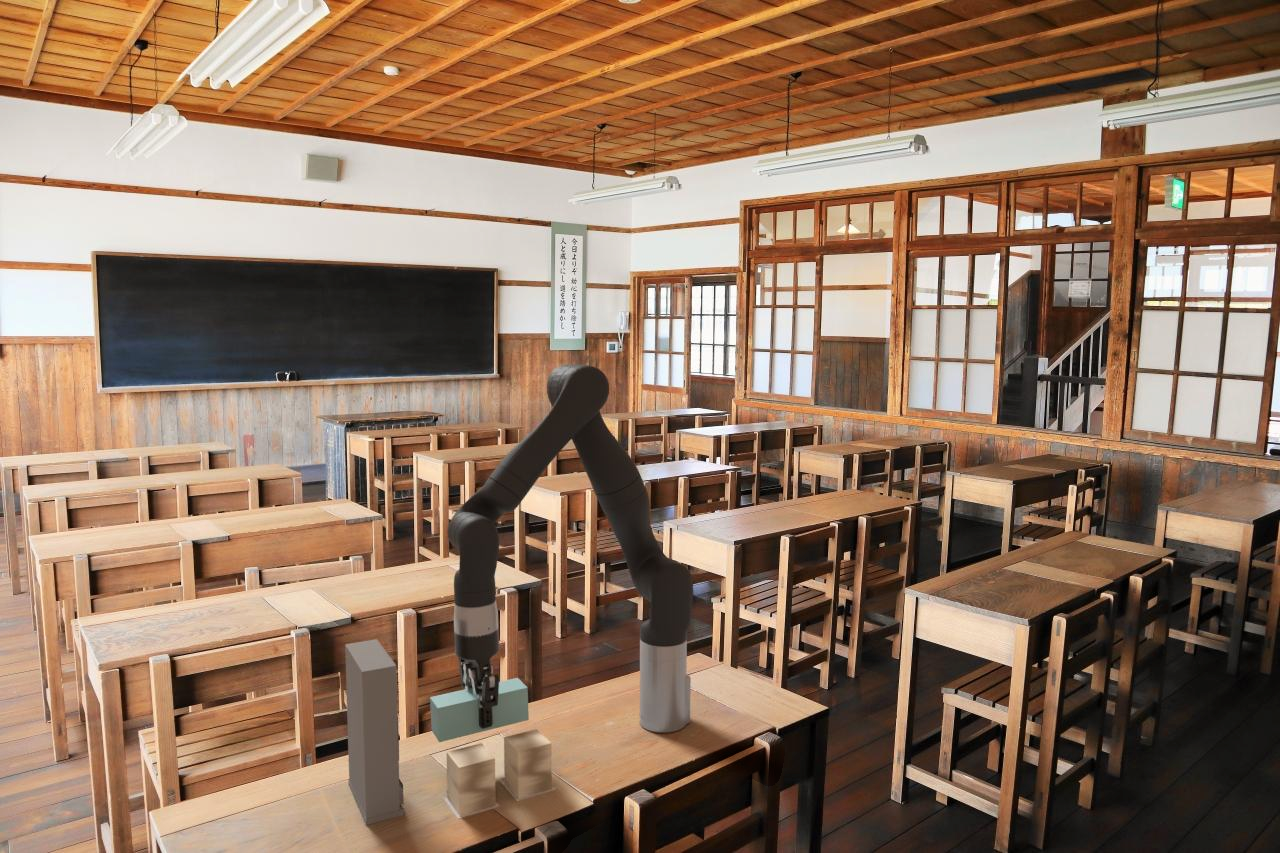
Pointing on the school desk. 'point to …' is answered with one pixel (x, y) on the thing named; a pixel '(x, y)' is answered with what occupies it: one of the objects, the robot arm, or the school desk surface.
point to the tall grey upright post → (373, 731)
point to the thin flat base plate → (496, 802)
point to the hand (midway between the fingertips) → (480, 720)
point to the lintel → (477, 710)
